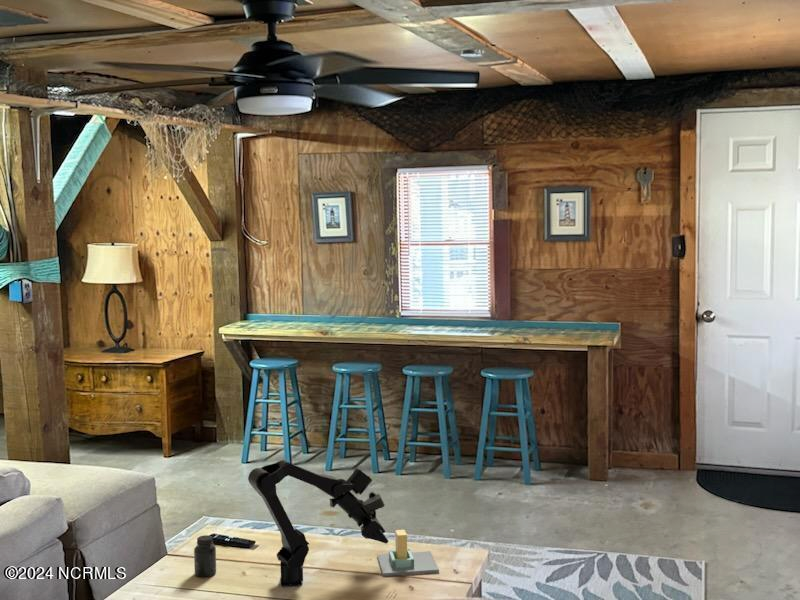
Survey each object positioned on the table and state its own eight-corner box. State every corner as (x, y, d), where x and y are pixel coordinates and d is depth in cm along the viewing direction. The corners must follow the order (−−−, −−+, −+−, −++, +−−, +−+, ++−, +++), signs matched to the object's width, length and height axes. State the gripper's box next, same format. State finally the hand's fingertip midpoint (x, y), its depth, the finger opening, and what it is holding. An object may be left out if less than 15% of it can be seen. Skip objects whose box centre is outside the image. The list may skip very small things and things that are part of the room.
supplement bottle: (190, 576, 285) (189, 540, 284) (202, 568, 291) (201, 532, 290) (209, 579, 282) (208, 542, 281) (220, 571, 289) (219, 535, 288)
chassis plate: (383, 576, 284) (382, 565, 283) (377, 557, 299) (377, 547, 299) (438, 572, 286) (438, 562, 286) (430, 554, 302) (430, 544, 302)
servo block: (398, 565, 290) (397, 535, 289) (395, 559, 295) (395, 530, 294) (407, 564, 290) (406, 534, 289) (404, 559, 295) (404, 529, 294)
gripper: (372, 496, 279) (407, 529, 282) (366, 479, 298) (399, 510, 300) (347, 522, 279) (382, 554, 281) (343, 503, 297) (376, 534, 300)
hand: (385, 537), depth 291 cm, fingers open, 9 cm apart
